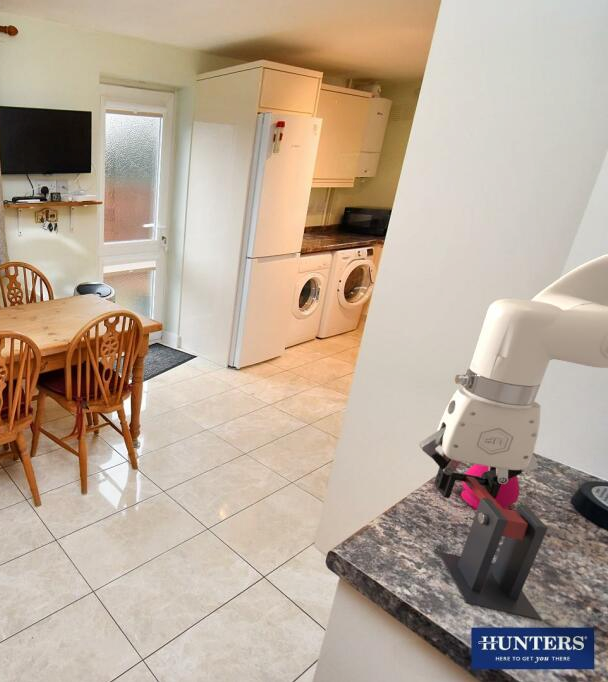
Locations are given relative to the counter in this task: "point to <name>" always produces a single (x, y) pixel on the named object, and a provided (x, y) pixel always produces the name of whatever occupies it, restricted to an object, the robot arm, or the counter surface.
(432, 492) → the counter surface
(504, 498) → the pepper mill
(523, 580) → the switch bracket
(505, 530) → the switch lever
